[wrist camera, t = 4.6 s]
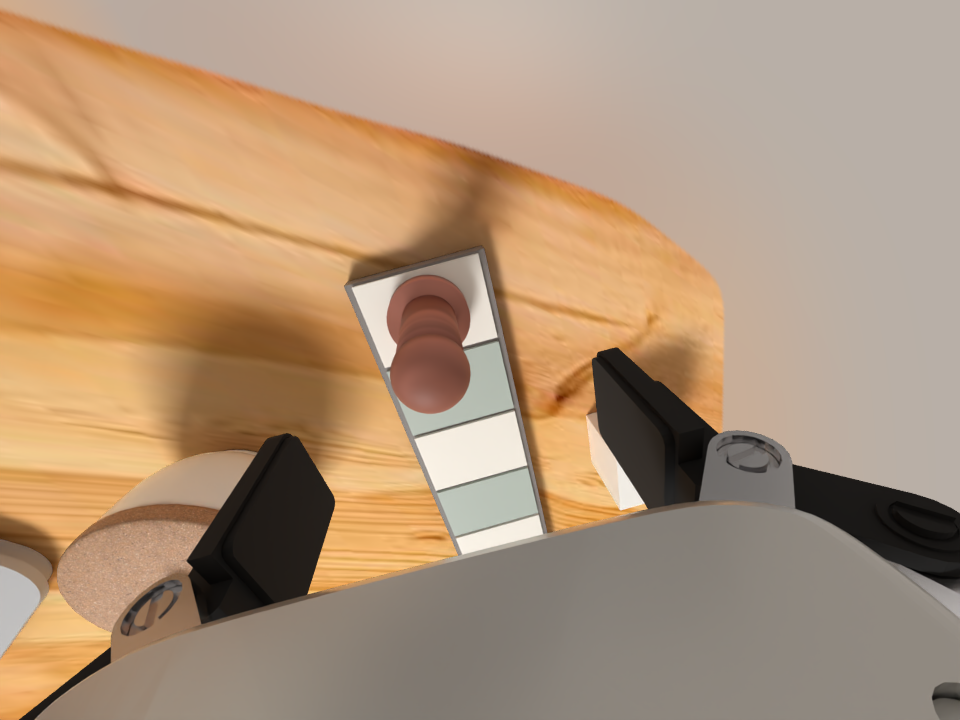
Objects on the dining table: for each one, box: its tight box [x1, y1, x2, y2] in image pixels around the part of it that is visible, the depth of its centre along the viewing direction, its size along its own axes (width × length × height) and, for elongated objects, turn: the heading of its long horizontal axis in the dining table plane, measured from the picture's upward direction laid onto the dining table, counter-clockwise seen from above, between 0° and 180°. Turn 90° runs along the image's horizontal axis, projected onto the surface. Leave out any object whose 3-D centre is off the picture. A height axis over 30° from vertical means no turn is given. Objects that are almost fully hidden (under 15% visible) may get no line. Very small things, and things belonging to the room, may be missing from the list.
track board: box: [344, 246, 547, 556], centre depth 26 cm, size 28×8×1 cm, turn 13°
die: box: [586, 412, 645, 510], centre depth 26 cm, size 5×5×5 cm
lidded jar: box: [57, 450, 258, 632], centre depth 22 cm, size 11×11×9 cm
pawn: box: [387, 275, 471, 414], centre depth 17 cm, size 5×5×9 cm
